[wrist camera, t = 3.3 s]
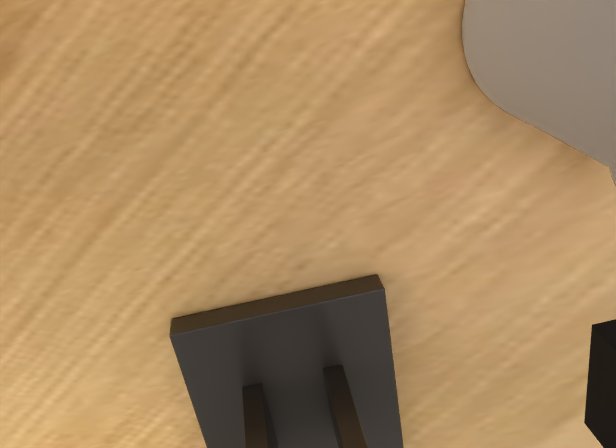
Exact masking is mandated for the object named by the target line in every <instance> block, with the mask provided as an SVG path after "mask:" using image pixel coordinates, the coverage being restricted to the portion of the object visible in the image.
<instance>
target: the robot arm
mask: <svg viewBox="0 0 616 448" xmlns="http://www.w3.org/2000/svg"><path fill="white" fill-rule="evenodd" d="M584 423H585V424H586V425H587V427H588V428H589V429H590V431H591V432H592V433H593V434H594V436H595V437H596V438H597V440H598V441H599V442H600V443H601V445H602V446H603V447H604V448H616V320H611V321H607V322H602V323H598V324H594V325H592V332H591V345H590V358H589V371H588V383H587V396H586V409H585V422H584Z"/></svg>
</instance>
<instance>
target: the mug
mask: <svg viewBox="0 0 616 448" xmlns="http://www.w3.org/2000/svg"><path fill="white" fill-rule="evenodd" d="M462 40H463V48H464V54H465V58H466V61H467V64H468V67H469V70H470V72H471V74H472V76H473V78H474V80H475V82H476V84H477V85H478V86H479V88H480V89H481V91H482V92H483V93H484V94H485V95H486V96H487V97H488V98H489V100H490V101H491V102H493V103H494V104H495V105H497V106H498V107H499V108H501V109H502V110H504V111H505V112H507V113H509V114H511V115H513V116H514V117H516V118H518V119H520V120H522V121H524V122H526V123H528V124H530V125H532V126H534V127H536V128H538V129H540V130H542V131H544V132H546V133H548V134H549V135H551V136H553V137H555V138H557V139H558V140H560V141H562V142H564V143H566V144H567V145H569V146H571V147H573V148H575V149H576V150H578V151H580V152H582V153H584V154H585V155H587V156H589V157H591V158H593V159H594V160H596V161H598V162H600V163H602V164H603V165H605V166H607V167H609V168H610V172H611V176H612V178H613V181H614V184H615V186H616V0H466V1H465V7H464V12H463V21H462Z"/></svg>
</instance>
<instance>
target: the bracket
mask: <svg viewBox="0 0 616 448" xmlns="http://www.w3.org/2000/svg"><path fill="white" fill-rule="evenodd" d="M170 339H171V342H172V345H173V348H174V351H175V353H176V356H177V359H178V362H179V365H180V368H181V371H182V374H183V377H184V380H185V383H186V386H187V389H188V392H189V395H190V398H191V401H192V404H193V407H194V410H195V413H196V416H197V419H198V422H199V425H200V428H201V431H202V434H203V437H204V440H205V443H206V446H207V448H403V440H402V431H401V423H400V414H399V406H398V397H397V389H396V381H395V372H394V364H393V355H392V347H391V338H390V330H389V321H388V313H387V304H386V296H385V288H384V286H383V284H382V282H381V280H380V278H379V276H378V275H374V276H369V277H364V278H360V279H355V280H350V281H346V282H341V283H337V284H332V285H327V286H323V287H318V288H313V289H309V290H304V291H300V292H295V293H290V294H286V295H281V296H276V297H272V298H267V299H263V300H258V301H253V302H249V303H244V304H239V305H235V306H230V307H226V308H221V309H216V310H212V311H207V312H202V313H198V314H193V315H189V316H184V317H179V318H175V319H172V320H171V328H170Z"/></svg>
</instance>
